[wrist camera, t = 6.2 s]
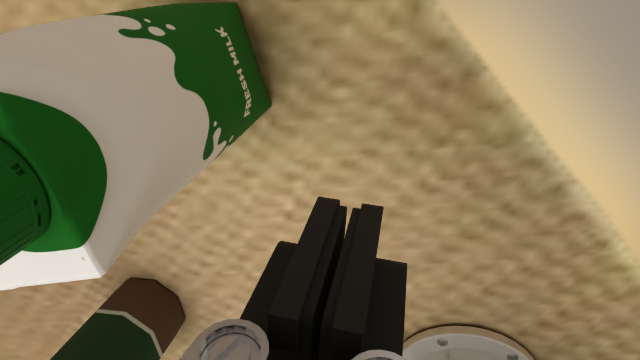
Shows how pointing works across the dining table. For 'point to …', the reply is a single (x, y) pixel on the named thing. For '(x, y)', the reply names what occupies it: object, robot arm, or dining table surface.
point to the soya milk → (112, 128)
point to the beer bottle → (128, 325)
